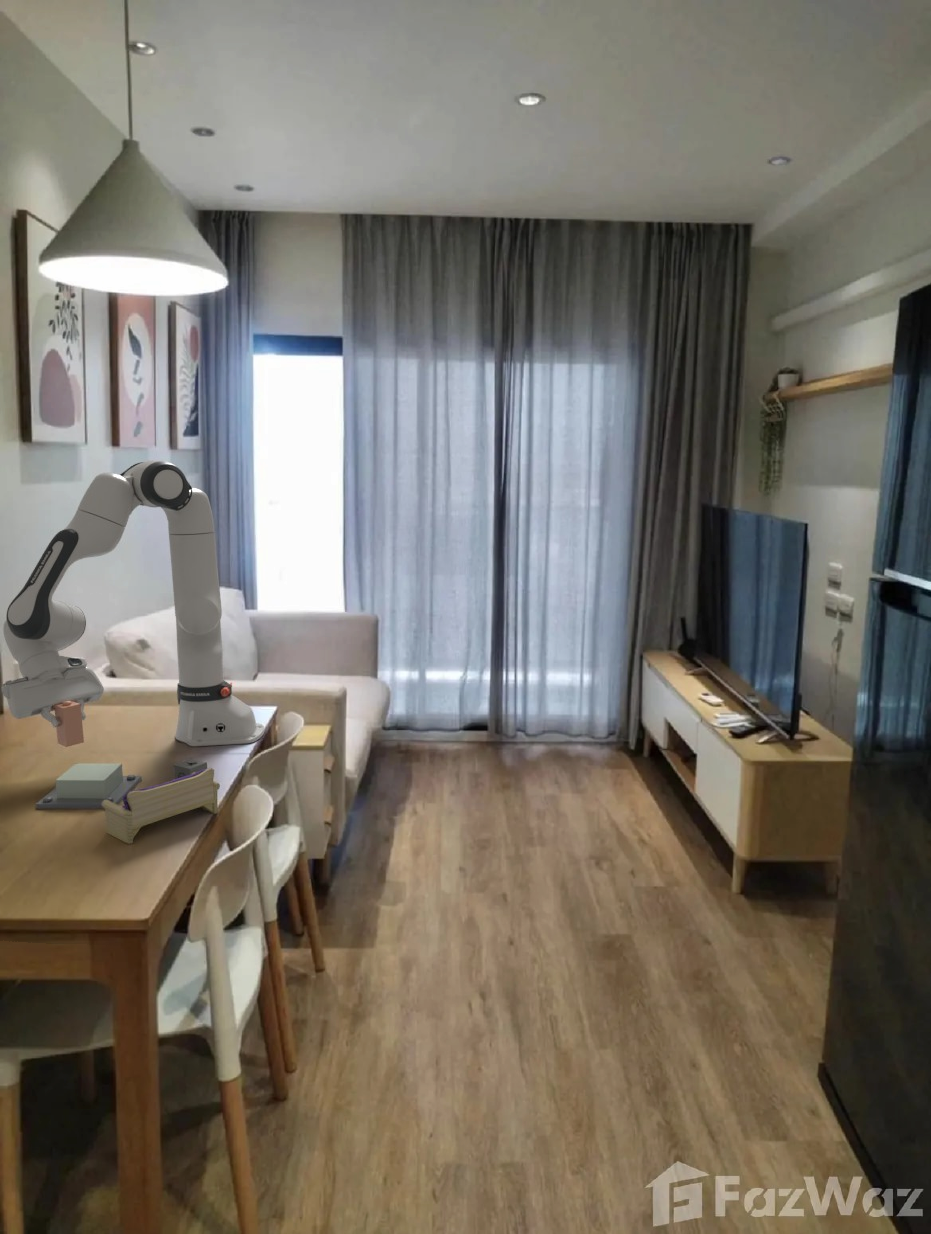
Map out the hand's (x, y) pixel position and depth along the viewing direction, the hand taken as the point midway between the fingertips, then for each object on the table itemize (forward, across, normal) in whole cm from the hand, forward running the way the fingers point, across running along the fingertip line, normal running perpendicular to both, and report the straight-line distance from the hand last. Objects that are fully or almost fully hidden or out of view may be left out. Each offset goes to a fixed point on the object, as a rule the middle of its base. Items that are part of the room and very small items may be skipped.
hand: (70, 722), depth 193 cm
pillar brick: (+3, 0, +4) cm, 5 cm away
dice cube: (+27, +14, -8) cm, 31 cm away
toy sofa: (+36, -1, -17) cm, 40 cm away
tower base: (+18, -3, 0) cm, 18 cm away
